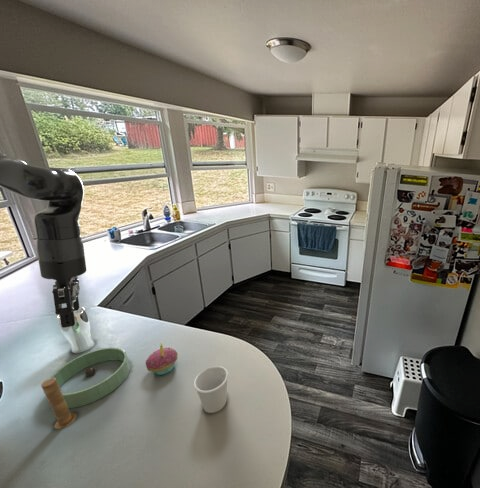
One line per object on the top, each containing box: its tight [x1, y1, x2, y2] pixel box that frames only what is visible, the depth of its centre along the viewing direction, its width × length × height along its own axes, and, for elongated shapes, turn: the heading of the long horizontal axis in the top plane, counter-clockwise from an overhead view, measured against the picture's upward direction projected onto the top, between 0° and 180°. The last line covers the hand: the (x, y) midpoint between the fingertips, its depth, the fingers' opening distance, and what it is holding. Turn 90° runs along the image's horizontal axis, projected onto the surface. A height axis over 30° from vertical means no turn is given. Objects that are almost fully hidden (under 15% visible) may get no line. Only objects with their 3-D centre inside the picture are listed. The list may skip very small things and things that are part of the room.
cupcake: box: [145, 343, 179, 376], centre depth 78 cm, size 9×8×12 cm
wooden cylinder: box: [40, 377, 77, 430], centre depth 61 cm, size 4×4×14 cm
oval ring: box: [49, 347, 131, 409], centre depth 74 cm, size 17×17×6 cm
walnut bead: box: [84, 367, 97, 377], centre depth 76 cm, size 2×2×2 cm
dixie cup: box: [193, 365, 229, 414], centre depth 68 cm, size 8×8×10 cm
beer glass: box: [56, 306, 95, 354], centre depth 85 cm, size 7×7×15 cm
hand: (71, 317), depth 62 cm, fingers open, 8 cm apart
